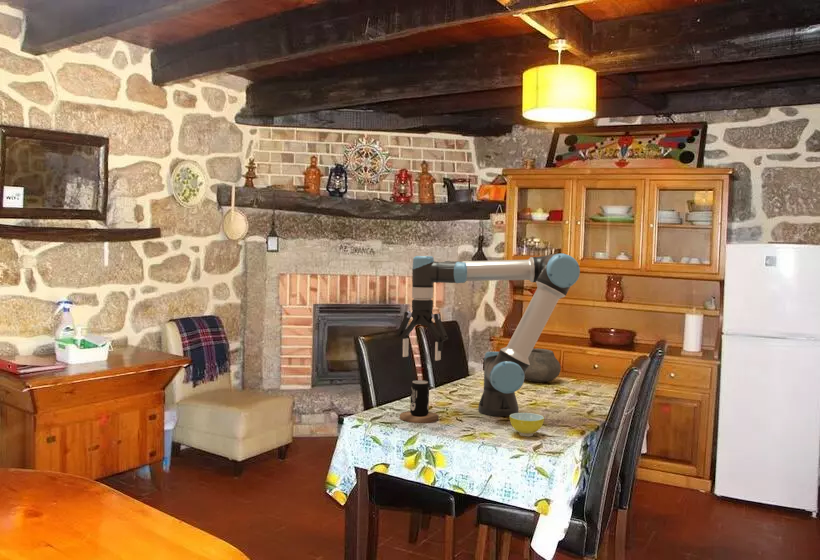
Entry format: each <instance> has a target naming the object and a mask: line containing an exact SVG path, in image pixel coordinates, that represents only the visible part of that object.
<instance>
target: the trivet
mask: <svg viewBox="0 0 820 560" xmlns="http://www.w3.org/2000/svg"><path fill="white" fill-rule="evenodd" d="M439 418H440V417H439V414H438V413H435V412H432V411H429V413H428V414H427V416H423V417H417V416H413V415H412V414H411V413H410V410H408V411H403V412H401V413H400V414H399V419H400V420H401V421H403V422H406V423H410V424H413V423H414V424H430V423H436V422H437V421H439Z"/></svg>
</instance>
